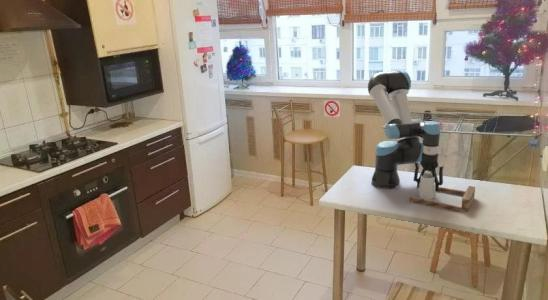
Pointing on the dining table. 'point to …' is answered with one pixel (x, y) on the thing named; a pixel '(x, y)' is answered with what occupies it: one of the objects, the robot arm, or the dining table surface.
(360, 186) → the dining table surface
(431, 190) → the mug
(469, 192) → the end stop
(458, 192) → the guide lane
